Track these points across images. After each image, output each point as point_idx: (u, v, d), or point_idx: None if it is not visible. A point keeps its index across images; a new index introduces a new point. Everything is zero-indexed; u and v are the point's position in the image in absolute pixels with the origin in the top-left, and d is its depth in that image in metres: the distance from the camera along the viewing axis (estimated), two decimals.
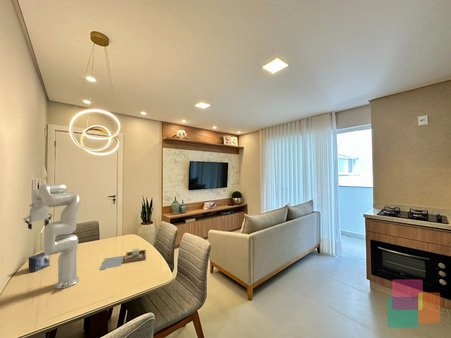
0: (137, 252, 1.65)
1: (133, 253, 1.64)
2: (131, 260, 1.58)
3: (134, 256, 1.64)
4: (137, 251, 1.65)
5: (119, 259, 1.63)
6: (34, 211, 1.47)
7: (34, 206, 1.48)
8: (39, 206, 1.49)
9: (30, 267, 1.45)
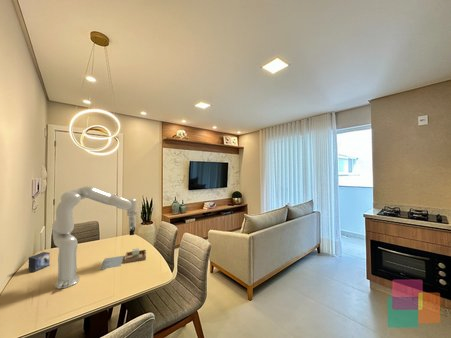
0: (137, 252, 1.65)
1: (133, 253, 1.64)
2: (131, 260, 1.58)
3: (134, 256, 1.64)
4: (137, 251, 1.65)
5: (119, 259, 1.63)
6: (135, 218, 1.64)
7: (134, 214, 1.64)
8: (136, 213, 1.67)
9: (30, 267, 1.45)
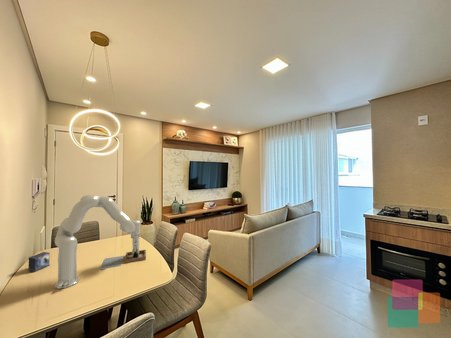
0: (137, 252, 1.65)
1: None
2: (131, 260, 1.58)
3: None
4: (137, 251, 1.65)
5: (119, 259, 1.63)
6: (138, 240, 1.65)
7: (138, 236, 1.65)
8: None
9: (30, 267, 1.45)
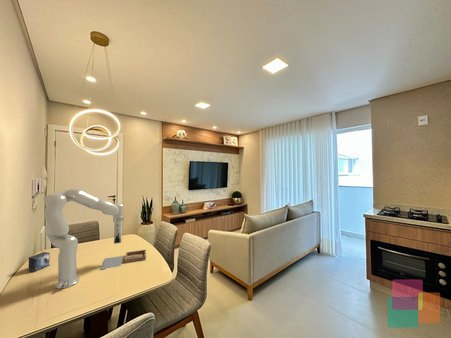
0: None
1: None
2: (131, 260, 1.58)
3: None
4: (119, 235, 1.59)
5: (119, 259, 1.63)
6: (121, 225, 1.59)
7: (120, 220, 1.59)
8: None
9: (30, 267, 1.45)
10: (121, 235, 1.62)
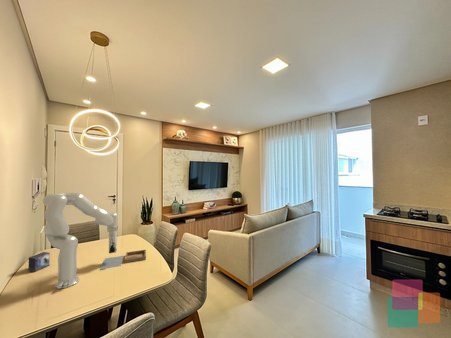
0: (114, 246, 1.57)
1: None
2: (131, 260, 1.58)
3: None
4: (114, 245, 1.57)
5: (119, 259, 1.63)
6: (115, 234, 1.57)
7: (114, 229, 1.57)
8: (117, 228, 1.60)
9: (30, 267, 1.45)
10: (116, 244, 1.60)
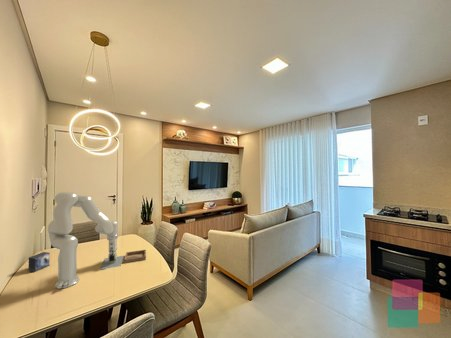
0: (114, 256, 1.57)
1: None
2: (131, 260, 1.58)
3: (110, 261, 1.56)
4: (114, 255, 1.57)
5: (119, 259, 1.63)
6: (115, 242, 1.57)
7: (114, 238, 1.57)
8: (117, 237, 1.59)
9: (30, 267, 1.45)
10: (116, 254, 1.60)
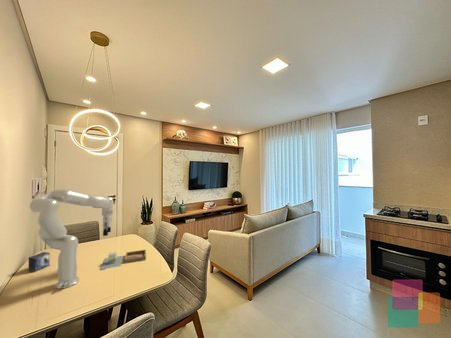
0: (114, 256, 1.57)
1: (109, 258, 1.56)
2: (131, 260, 1.58)
3: (110, 261, 1.56)
4: (114, 255, 1.57)
5: (119, 259, 1.63)
6: (109, 218, 1.57)
7: (109, 213, 1.57)
8: (112, 213, 1.60)
9: (30, 267, 1.45)
10: (116, 254, 1.60)
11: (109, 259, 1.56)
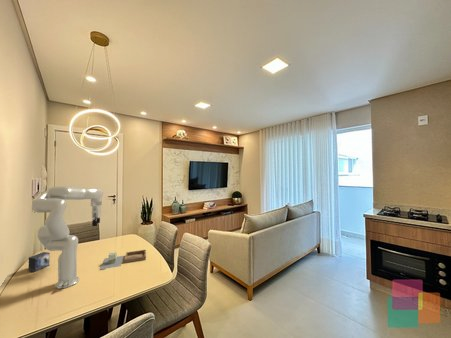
0: (114, 256, 1.57)
1: (109, 258, 1.56)
2: (131, 260, 1.58)
3: (110, 261, 1.56)
4: (114, 255, 1.57)
5: (119, 259, 1.63)
6: (99, 209, 1.60)
7: (98, 204, 1.60)
8: (101, 204, 1.62)
9: (30, 267, 1.45)
10: (116, 254, 1.60)
11: (109, 259, 1.56)
